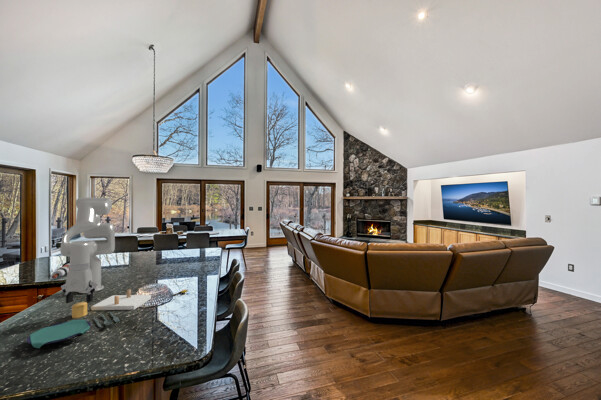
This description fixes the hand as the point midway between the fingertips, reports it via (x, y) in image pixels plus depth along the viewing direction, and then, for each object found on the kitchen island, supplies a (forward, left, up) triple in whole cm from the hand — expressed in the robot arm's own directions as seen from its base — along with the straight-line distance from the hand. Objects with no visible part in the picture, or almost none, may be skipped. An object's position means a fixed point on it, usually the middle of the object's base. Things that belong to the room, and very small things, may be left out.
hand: (79, 302), depth 126 cm
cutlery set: (+10, -14, -8) cm, 19 cm away
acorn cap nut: (0, +1, -7) cm, 7 cm away
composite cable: (+36, +29, -7) cm, 47 cm away
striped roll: (-75, +74, +1) cm, 105 cm away
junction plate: (+12, +15, -7) cm, 20 cm away
